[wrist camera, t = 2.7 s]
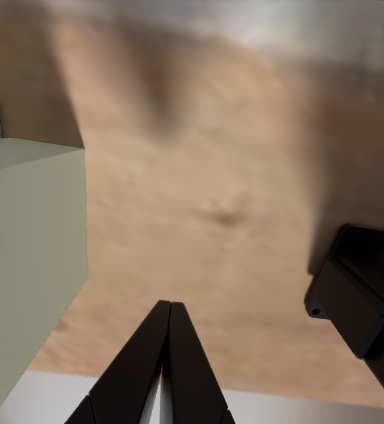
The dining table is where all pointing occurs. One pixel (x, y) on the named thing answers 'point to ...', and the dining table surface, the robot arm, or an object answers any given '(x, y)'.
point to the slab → (38, 246)
